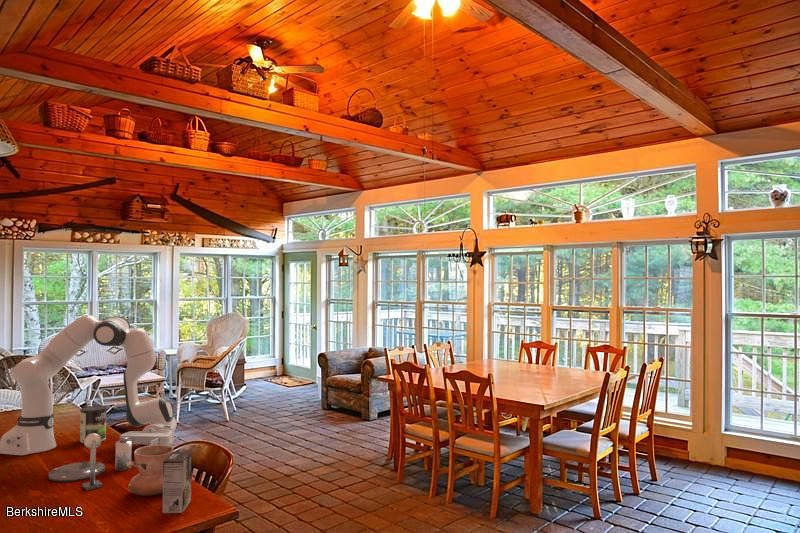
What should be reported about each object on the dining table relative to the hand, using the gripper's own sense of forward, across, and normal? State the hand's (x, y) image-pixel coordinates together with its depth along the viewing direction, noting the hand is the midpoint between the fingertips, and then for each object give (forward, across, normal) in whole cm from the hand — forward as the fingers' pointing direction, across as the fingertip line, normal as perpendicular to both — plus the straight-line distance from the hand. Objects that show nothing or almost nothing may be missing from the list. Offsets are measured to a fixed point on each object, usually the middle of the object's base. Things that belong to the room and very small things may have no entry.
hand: (137, 443), depth 223 cm
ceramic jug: (+33, +22, +6) cm, 40 cm away
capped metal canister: (+11, 0, +6) cm, 13 cm away
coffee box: (+46, +35, +6) cm, 58 cm away
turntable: (+17, -14, +6) cm, 23 cm away
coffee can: (-25, -32, +6) cm, 41 cm away
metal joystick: (+30, -1, +6) cm, 31 cm away
